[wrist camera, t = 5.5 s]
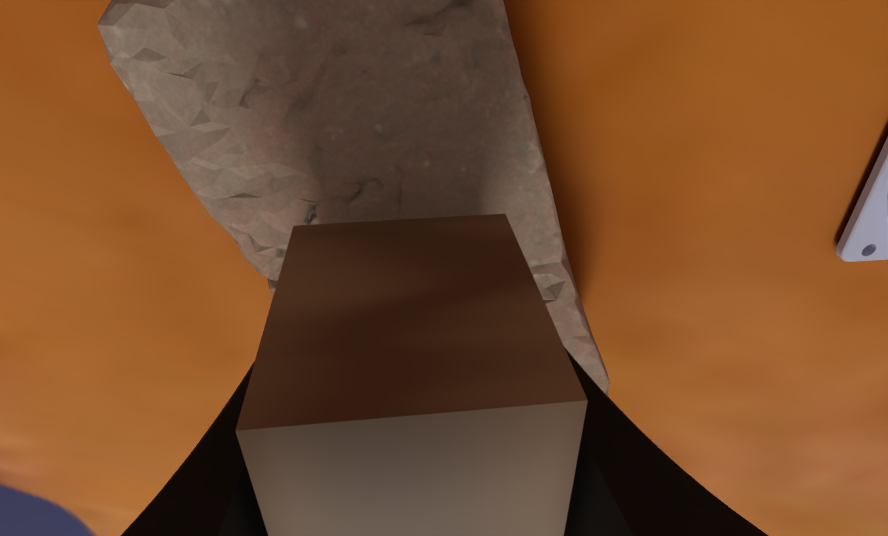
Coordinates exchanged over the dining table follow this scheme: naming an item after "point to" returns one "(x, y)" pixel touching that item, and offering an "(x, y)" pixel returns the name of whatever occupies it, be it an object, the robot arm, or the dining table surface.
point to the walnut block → (411, 386)
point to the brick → (348, 122)
